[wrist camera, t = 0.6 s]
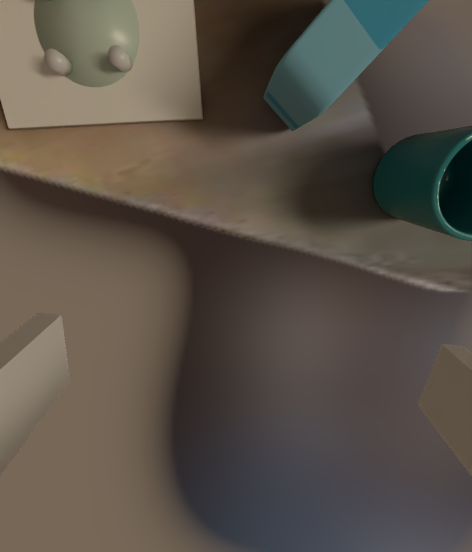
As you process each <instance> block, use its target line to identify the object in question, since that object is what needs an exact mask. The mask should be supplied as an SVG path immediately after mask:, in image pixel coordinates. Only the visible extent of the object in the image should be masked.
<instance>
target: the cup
mask: <svg viewBox="0 0 472 552" xmlns="http://www.w3.org/2000/svg"><path fill="white" fill-rule="evenodd" d="M373 190H374V195H375V198H376V201H377V203H378V205H379V206H380V207H381V209H382V210H383V211H384V212H385V213H387V214H388V215H390V216H392V217H394V218H397V219H400V220H403V221H406V222H409V223H412V224H415V225H418V226H421V227H424V228H427V229H431V230H434V231H437V232H440V233H443V234H446V235H449V236H452V237H455V238H458V239H462V240H468V241H472V126H466V127H460V128H454V129H448V130H442V131H436V132H430V133H424V134H418V135H413V136H410V137H407V138H405V139H403V140H401V141H399V142H398V143H396V144H395V145H394V146H392V147H391V148H390V149H389V150H388V151H387V152H386V154H385V155H384V156H383V158H382V159H381V161H380V162H379V164H378V166H377V169H376V172H375V175H374V181H373Z"/></svg>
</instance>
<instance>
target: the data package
mask: <svg viewBox="0 0 472 552" xmlns="http://www.w3.org/2000/svg"><path fill="white" fill-rule="evenodd" d="M428 1H429V0H330V1H329V2H328V3H327V5H326V6H325V7H324V8H323V9H322V10H321V12H320V13H319V14H318V15H317V16H316V18H315V19H314V20H313V21H312V22H311V23H310V25H309V26H308V27H307V28H306V29H305V31H304V32H303V33H302V34H301V35H300V36H299V38H298V39H297V40H296V41H295V42H294V44H293V45H292V46H291V47H290V48H289V50H288V51H287V52H286V54H285V55H284V56H283V57H282V59H281V60H280V62H279V63H278V65H277V66H276V68H275V70H274V73H273V75H272V77H271V79H270V82H269V84H268V86H267V89H266V91H265V93H264V96H263V99H264V100H265V101H266V102H267V103H268V105H269V106H270V107H271V108H272V109H273V110H274V111H275V112H276V114H277V115H278V116H279V117H280V118H281V119H282V120H283V121H284V123H285V124H286V125H287V126H288V127H289V128H290V129H291V130H292V131H294V130H296V129H297V128H299V127H301V126H302V125H304V124H306V123H308V122H309V121H311V120H313V119H315V118H316V117H318V116H319V115H320V114H322V113H323V112H324V111H325V110H326V109H327V108H328V107H329V106H330V105H331V104H332V103H333V102H334V101H335V100H336V99H337V98H338V97H339V96H340V95H341V94H342V93H343V92H344V91H345V89H346V88H347V87H348V86H349V85H350V84H351V83H352V82H353V81H354V80H355V79H356V78H357V77H358V76H359V74H360V73H361V72H362V71H363V70H364V69H365V68H366V67H367V66H368V65H369V64H370V63H371V62H372V61H373V60H374V59H375V57H376V56H377V55H378V54H379V53H380V52H381V51H382V50H383V49H384V48H385V47H386V46H387V44H389V42H390V41H391V40H392V39H393V38H394V37H395V36H396V35H397V34H398V33H399V32H400V31H401V30H402V28H404V26H405V25H406V24H407V23H408V22H409V21H410V20H411V19H412V18H413V17H414V16H415V15H416V13H418V11H419V10H420V9H421V8H422V7H423V6H424V5H425V4H426V3H427V2H428Z"/></svg>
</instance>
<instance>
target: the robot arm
mask: <svg viewBox="0 0 472 552" xmlns="http://www.w3.org/2000/svg"><path fill="white" fill-rule="evenodd" d="M69 382H70V376H69V369H68V361H67V354H66V346H65V338H64V331H63V324H62V316H61V315H56V314H43V313H37V314H36V315H35V316H33V317H32V318H31V319H30V320H28V321H27V322H26V323H24V324H23V325H22V326H21V327H19V328H18V329H17V330H15V331H14V332H13V333H12V334H10V335H9V336H8V337H7V338H6V339H4V340H3V341H2V342H0V475H1V474H2V473H3V471H4V470H5V469H6V467H7V465H8V464H9V463H10V462H11V460H12V459H13V458H14V456H15V455H16V454H17V452H18V451H19V450H20V448H21V447H22V446H23V444H24V443H25V442H26V440H27V439H28V437H29V436H30V435H31V433H32V432H33V431H34V429H35V428H36V427H37V425H38V424H39V423H40V421H41V420H42V419H43V417H44V416H45V415H46V413H47V412H48V410H49V409H50V408H51V406H52V405H53V404H54V402H55V401H56V400H57V398H58V397H59V395H60V394H61V393H62V391H63V390H64V389H65V387H66V386H67V385H68V383H69ZM418 406H419V408H420V409H421V410H422V411H423V412H424V414H425V415H426V417H427V418H428V419H429V421H430V422H431V423H432V425H433V426H434V427H435V429H436V430H437V431H438V432H439V434H440V435H441V437H442V438H443V439H444V441H445V442H446V443H447V445H448V446H449V447H450V449H451V450H452V451H453V453H454V454H455V455H456V457H457V458H458V459H459V461H460V462H461V463H462V465H463V466H464V467H465V469H466V470H467V471H468V472H469V474H470V475H471V476H472V353H471V352H470V351H469V350H467V349H466V348H465V347H464V346H459V345H446V344H442V345H441V348H440V350H439V353H438V355H437V358H436V360H435V362H434V365H433V367H432V370H431V372H430V375H429V378H428V380H427V382H426V385H425V387H424V390H423V392H422V395H421V397H420V400H419V402H418Z"/></svg>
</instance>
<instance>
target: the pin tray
mask: <svg viewBox="0 0 472 552" xmlns="http://www.w3.org/2000/svg"><path fill="white" fill-rule="evenodd" d="M0 100H1V103H2V107H3V110H4V114H5V117H6V121H7V125H8V128H9V129H34V128H53V127H72V126H91V125H110V124H128V123H147V122H166V121H185V120H203V110H202V97H201V84H200V72H199V59H198V46H197V33H196V20H195V7H194V0H0Z"/></svg>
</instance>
